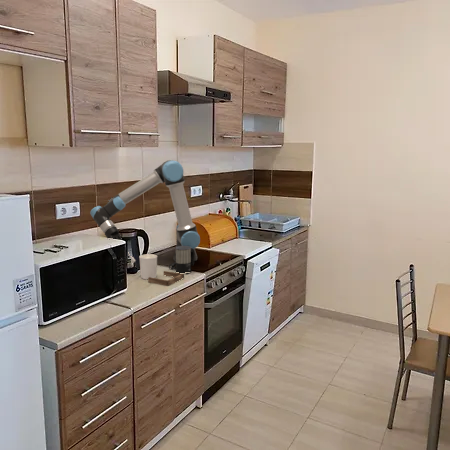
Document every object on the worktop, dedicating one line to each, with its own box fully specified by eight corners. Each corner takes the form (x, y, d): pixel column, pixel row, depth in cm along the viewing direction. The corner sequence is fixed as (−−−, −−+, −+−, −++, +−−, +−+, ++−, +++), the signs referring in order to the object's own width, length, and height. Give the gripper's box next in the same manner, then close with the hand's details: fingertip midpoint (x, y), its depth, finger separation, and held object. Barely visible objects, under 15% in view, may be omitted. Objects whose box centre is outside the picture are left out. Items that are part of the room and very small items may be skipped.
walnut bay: (164, 275, 243) (164, 271, 242) (184, 278, 237) (184, 274, 237) (148, 282, 229) (148, 277, 229) (168, 285, 223) (168, 281, 223)
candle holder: (139, 275, 242) (139, 254, 240) (157, 274, 244) (156, 253, 242) (139, 280, 232) (139, 258, 231) (158, 279, 235) (157, 258, 233)
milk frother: (187, 275, 244) (187, 249, 241) (162, 272, 248) (161, 247, 246) (196, 268, 257) (196, 244, 255) (171, 266, 262) (171, 242, 259)
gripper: (114, 232, 253) (136, 263, 248) (98, 235, 242) (122, 268, 237) (121, 224, 250) (144, 256, 245) (105, 227, 238) (129, 260, 234)
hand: (133, 262), depth 241 cm, fingers closed
